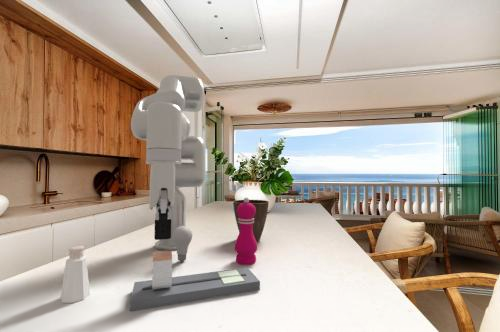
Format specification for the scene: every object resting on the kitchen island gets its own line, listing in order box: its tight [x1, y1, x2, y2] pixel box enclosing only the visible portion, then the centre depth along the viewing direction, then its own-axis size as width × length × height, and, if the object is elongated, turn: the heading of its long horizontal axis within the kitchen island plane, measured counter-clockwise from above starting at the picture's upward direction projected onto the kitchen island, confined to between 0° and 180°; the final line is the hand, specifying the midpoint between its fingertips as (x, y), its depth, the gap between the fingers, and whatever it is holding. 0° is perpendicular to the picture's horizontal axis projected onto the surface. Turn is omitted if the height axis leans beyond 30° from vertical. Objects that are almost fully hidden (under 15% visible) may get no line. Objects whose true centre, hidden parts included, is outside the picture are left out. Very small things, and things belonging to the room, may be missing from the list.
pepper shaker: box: [59, 245, 91, 304], centre depth 55 cm, size 5×5×11 cm
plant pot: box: [232, 199, 270, 243], centre depth 103 cm, size 15×15×16 cm
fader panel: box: [129, 267, 261, 312], centre depth 58 cm, size 9×28×2 cm, turn 110°
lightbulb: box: [172, 226, 193, 263], centre depth 77 cm, size 6×6×11 cm
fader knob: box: [151, 250, 173, 290], centre depth 56 cm, size 4×4×7 cm
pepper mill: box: [234, 197, 258, 266], centre depth 78 cm, size 7×7×20 cm
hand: (162, 234), depth 56 cm, fingers open, 9 cm apart
